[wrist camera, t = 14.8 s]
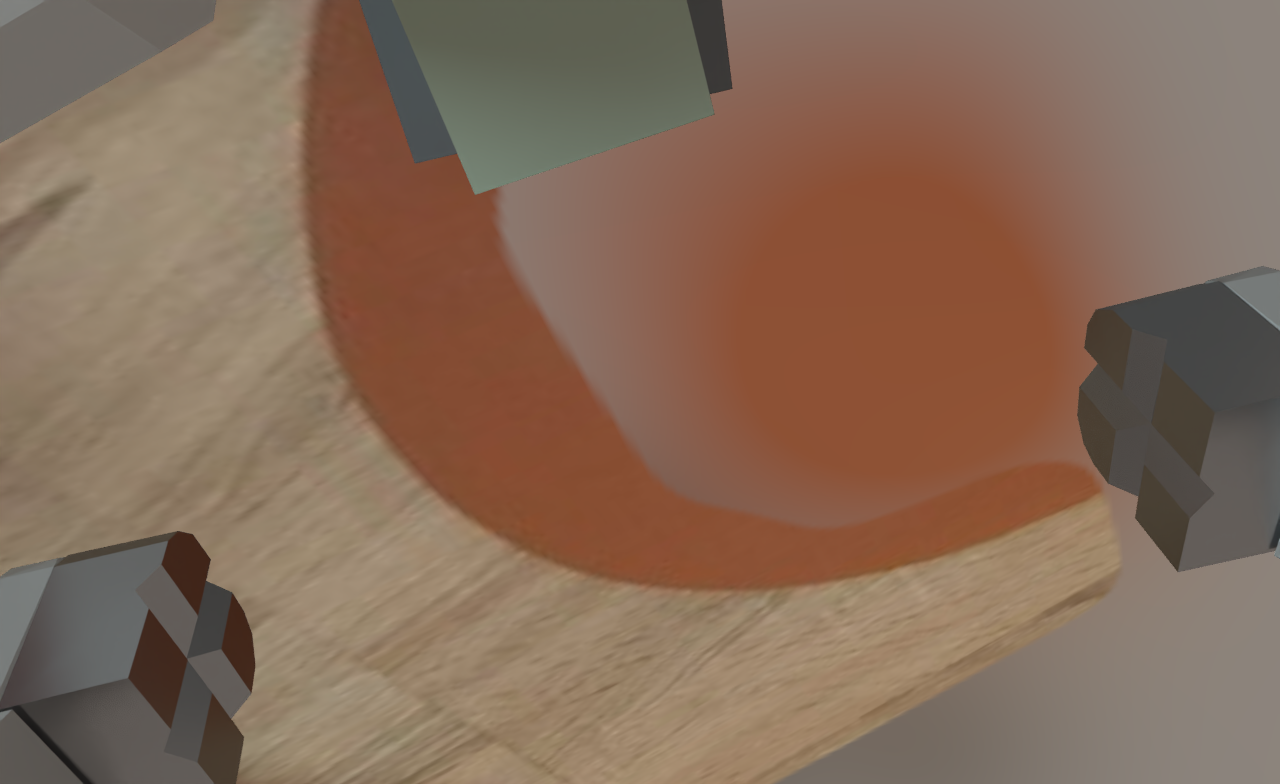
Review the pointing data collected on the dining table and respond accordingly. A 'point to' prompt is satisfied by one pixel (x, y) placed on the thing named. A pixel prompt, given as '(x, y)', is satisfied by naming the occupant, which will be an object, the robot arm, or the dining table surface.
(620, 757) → the dining table surface
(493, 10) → the green cube
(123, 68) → the heart sculpture
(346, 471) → the dining table surface
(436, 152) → the charcoal block
